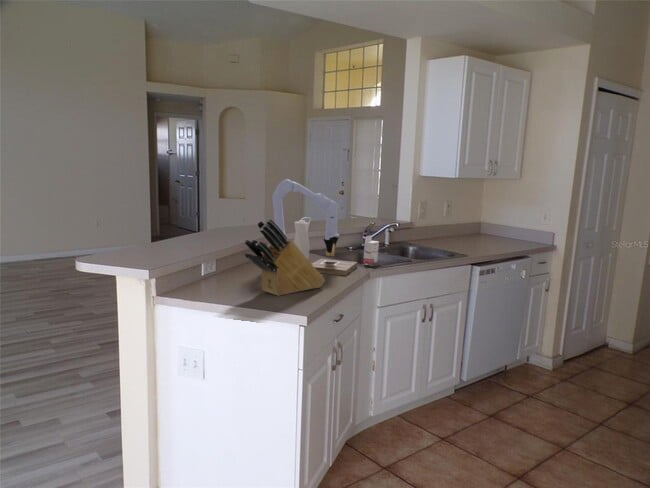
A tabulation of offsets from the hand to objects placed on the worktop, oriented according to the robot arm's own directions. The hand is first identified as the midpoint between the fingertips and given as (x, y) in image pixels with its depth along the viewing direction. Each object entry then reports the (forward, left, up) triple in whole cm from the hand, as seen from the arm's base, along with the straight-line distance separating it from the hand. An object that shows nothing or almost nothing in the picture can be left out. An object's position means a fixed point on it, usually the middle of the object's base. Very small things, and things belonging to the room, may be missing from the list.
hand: (330, 251), depth 253 cm
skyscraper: (-25, +7, -9) cm, 27 cm away
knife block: (-53, +3, -9) cm, 53 cm away
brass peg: (0, 0, -2) cm, 2 cm away
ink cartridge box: (+24, -16, -9) cm, 30 cm away
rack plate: (-2, -2, -8) cm, 9 cm away
